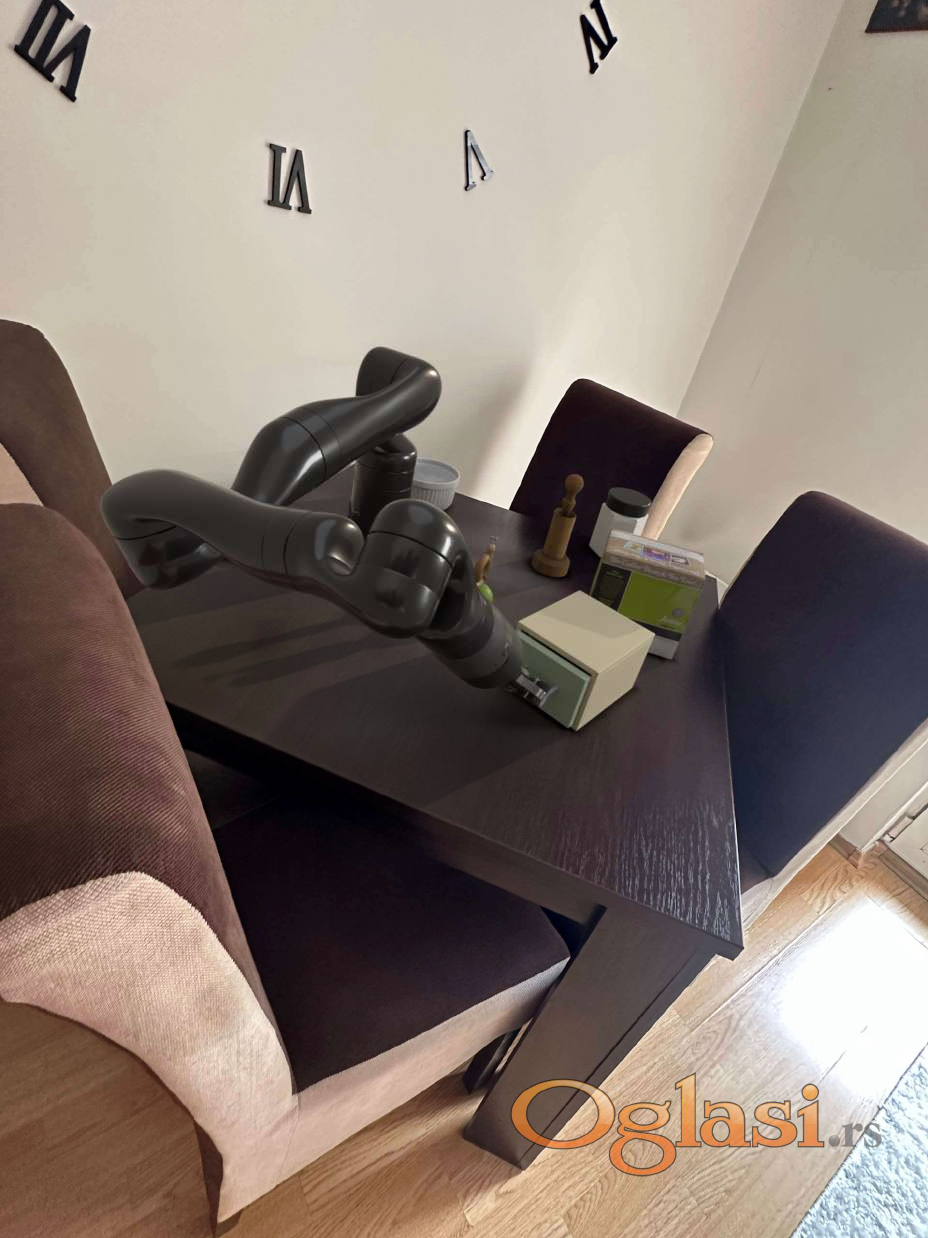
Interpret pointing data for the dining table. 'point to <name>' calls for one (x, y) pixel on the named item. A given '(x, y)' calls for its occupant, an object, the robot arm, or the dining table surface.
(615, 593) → the tea box
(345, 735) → the dining table surface
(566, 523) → the mortar and pestle
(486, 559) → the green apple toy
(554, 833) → the dining table surface
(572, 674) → the drawer
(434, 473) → the ramekin
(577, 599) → the cabinet
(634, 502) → the jar
